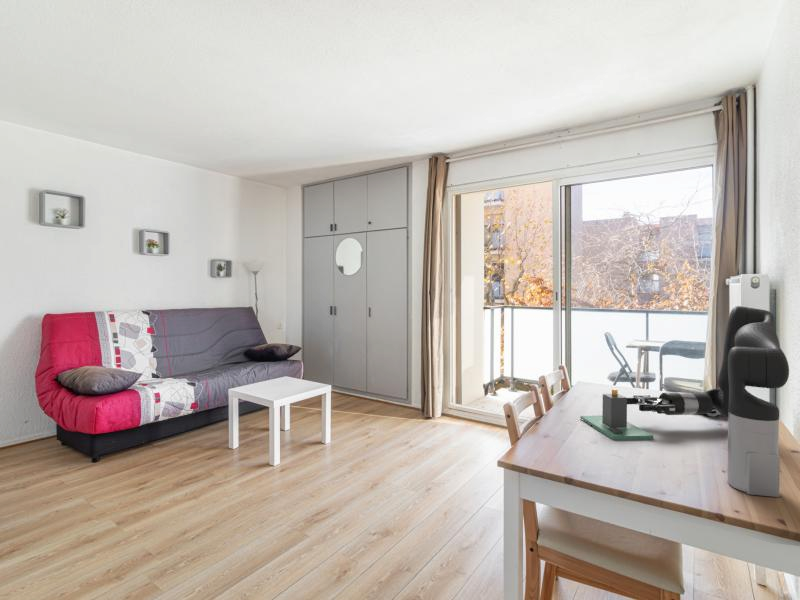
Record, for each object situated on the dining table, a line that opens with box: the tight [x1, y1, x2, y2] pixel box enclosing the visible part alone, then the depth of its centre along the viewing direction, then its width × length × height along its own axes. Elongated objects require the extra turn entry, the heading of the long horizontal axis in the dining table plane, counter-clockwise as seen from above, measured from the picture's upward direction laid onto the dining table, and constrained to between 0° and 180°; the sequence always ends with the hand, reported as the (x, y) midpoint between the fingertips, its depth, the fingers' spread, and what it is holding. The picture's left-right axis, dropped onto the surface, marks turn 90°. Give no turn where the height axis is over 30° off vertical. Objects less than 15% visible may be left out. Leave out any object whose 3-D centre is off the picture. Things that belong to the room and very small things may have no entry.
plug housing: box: [602, 388, 628, 428], centre depth 144 cm, size 5×5×12 cm
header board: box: [579, 415, 654, 441], centre depth 144 cm, size 22×13×4 cm, turn 2°
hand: (632, 404), depth 144 cm, fingers open, 8 cm apart
